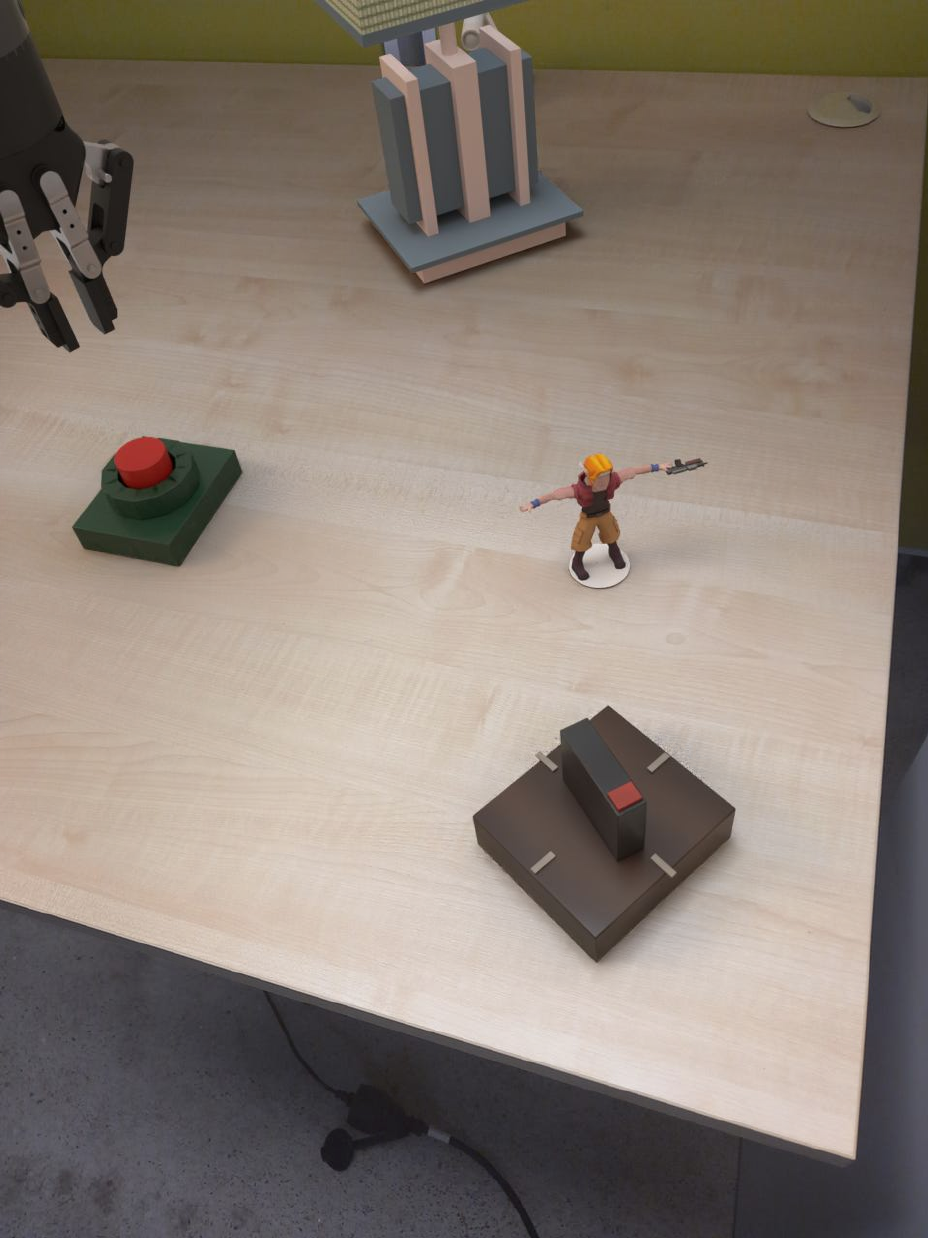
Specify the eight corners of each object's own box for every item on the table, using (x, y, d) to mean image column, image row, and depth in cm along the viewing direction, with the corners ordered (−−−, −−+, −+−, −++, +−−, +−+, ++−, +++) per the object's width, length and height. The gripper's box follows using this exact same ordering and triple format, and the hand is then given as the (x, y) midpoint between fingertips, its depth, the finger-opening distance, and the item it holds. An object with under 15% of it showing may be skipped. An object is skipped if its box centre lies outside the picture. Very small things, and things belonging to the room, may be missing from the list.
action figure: (685, 518, 69) (694, 408, 62) (705, 547, 67) (716, 436, 60) (518, 570, 68) (508, 462, 61) (533, 600, 66) (524, 493, 59)
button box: (179, 566, 71) (160, 526, 68) (83, 548, 74) (60, 508, 71) (242, 471, 77) (227, 430, 74) (152, 457, 80) (133, 416, 76)
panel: (601, 968, 50) (600, 943, 48) (473, 839, 55) (466, 810, 53) (736, 841, 54) (742, 811, 51) (603, 730, 59) (603, 698, 57)
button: (157, 492, 71) (148, 474, 70) (113, 485, 72) (104, 466, 71) (182, 458, 73) (174, 439, 72) (139, 452, 74) (130, 433, 73)
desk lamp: (524, 171, 102) (497, -249, 77) (591, 233, 93) (585, -219, 69) (353, 226, 99) (268, -195, 74) (407, 296, 90) (330, -156, 65)
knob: (562, 777, 54) (558, 727, 50) (588, 764, 54) (587, 713, 51) (617, 862, 50) (618, 814, 47) (645, 847, 51) (647, 799, 47)
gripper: (44, -21, 55) (152, 268, 69) (-208, 71, 50) (-39, 363, 64) (107, 9, 51) (210, 310, 64) (-160, 112, 46) (10, 415, 60)
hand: (85, 335), depth 64 cm, fingers closed
